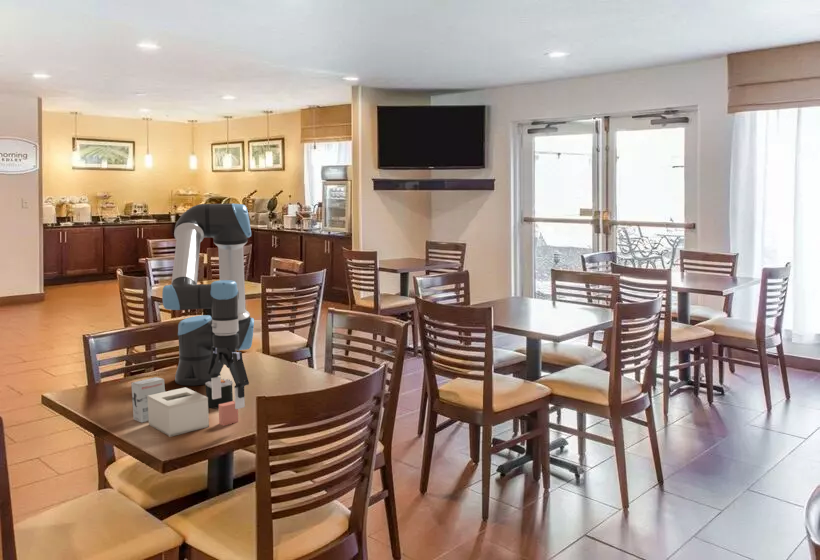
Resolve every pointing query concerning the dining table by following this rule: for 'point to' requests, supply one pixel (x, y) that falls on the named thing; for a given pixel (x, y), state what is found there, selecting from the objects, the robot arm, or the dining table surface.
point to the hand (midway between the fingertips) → (228, 403)
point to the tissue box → (178, 411)
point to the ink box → (144, 396)
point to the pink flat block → (228, 413)
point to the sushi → (225, 393)
